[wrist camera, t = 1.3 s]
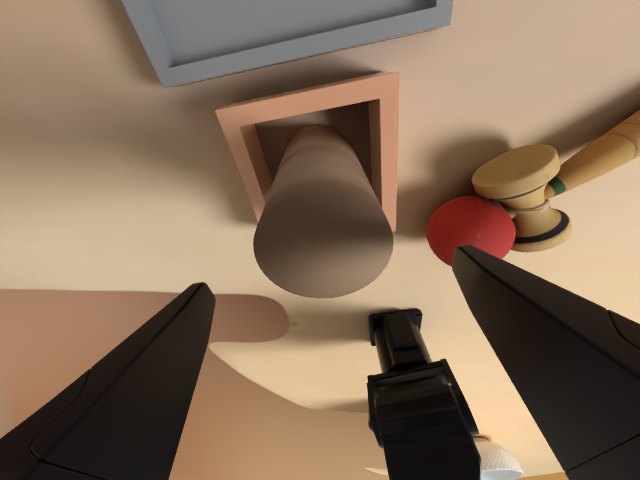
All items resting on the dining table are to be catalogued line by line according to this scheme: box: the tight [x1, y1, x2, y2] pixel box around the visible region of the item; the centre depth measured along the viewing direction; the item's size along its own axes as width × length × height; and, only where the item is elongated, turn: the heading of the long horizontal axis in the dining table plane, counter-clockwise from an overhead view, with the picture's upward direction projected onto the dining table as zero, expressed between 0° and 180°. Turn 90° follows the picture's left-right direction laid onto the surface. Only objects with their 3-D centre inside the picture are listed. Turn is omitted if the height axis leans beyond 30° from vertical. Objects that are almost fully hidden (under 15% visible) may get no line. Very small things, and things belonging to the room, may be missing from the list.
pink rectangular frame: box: [215, 72, 399, 232], centre depth 17 cm, size 10×10×4 cm
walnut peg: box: [253, 124, 393, 298], centre depth 14 cm, size 6×6×11 cm
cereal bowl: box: [473, 438, 523, 480], centre depth 60 cm, size 17×17×7 cm
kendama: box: [427, 110, 640, 266], centre depth 17 cm, size 8×6×18 cm
